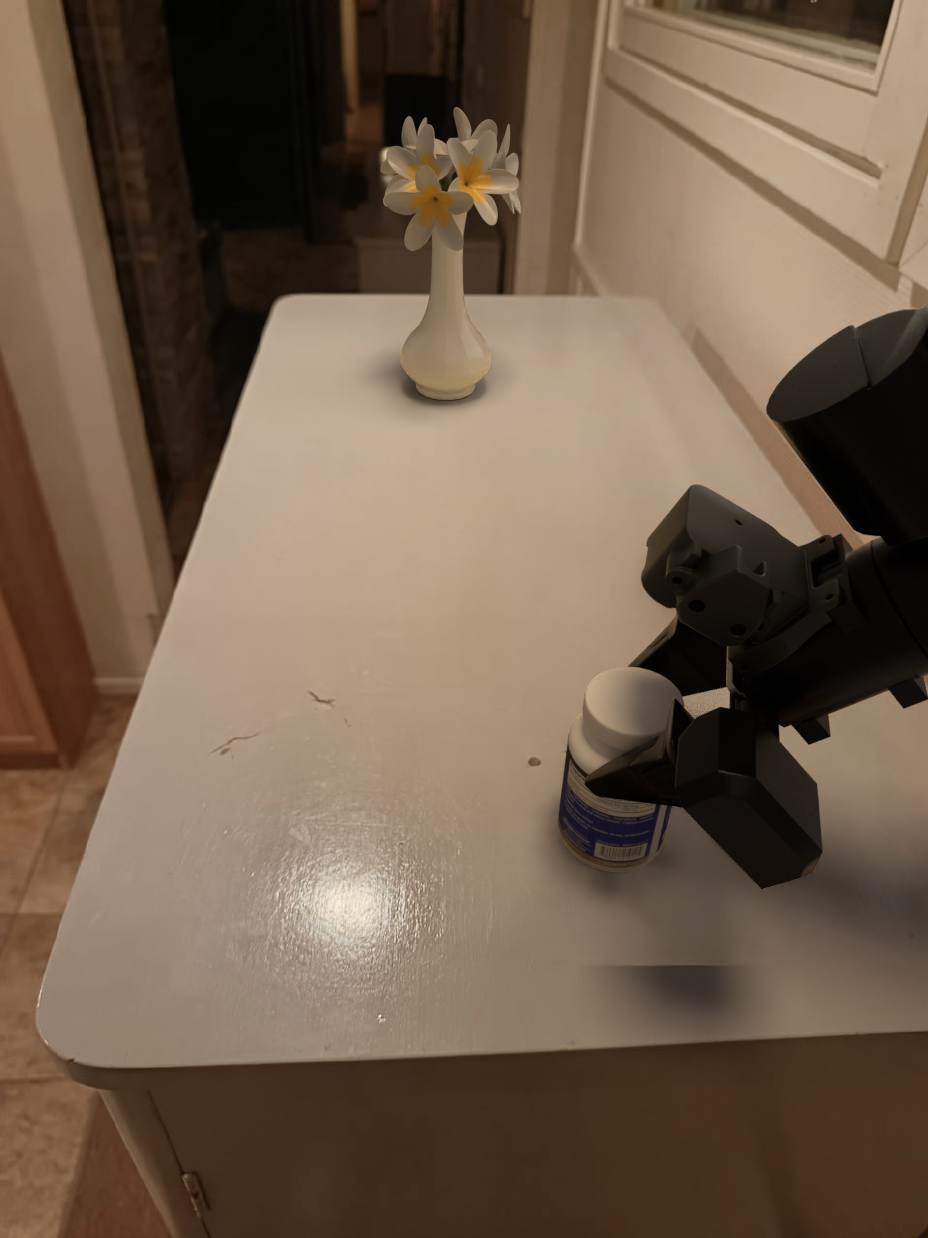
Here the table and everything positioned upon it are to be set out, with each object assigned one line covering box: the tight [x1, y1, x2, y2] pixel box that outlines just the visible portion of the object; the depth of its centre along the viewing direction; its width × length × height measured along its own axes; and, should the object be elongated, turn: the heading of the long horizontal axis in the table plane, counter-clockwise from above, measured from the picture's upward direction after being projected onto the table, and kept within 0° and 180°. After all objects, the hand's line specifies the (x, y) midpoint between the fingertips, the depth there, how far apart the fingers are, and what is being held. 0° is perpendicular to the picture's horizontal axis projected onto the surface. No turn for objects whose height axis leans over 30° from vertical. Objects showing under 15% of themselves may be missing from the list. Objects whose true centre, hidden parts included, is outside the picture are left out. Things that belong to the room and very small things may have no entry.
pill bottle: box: [557, 666, 685, 873], centre depth 44 cm, size 6×6×10 cm
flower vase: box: [380, 106, 522, 401], centre depth 84 cm, size 13×18×25 cm
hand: (598, 742), depth 44 cm, fingers closed on pill bottle, 6 cm apart
